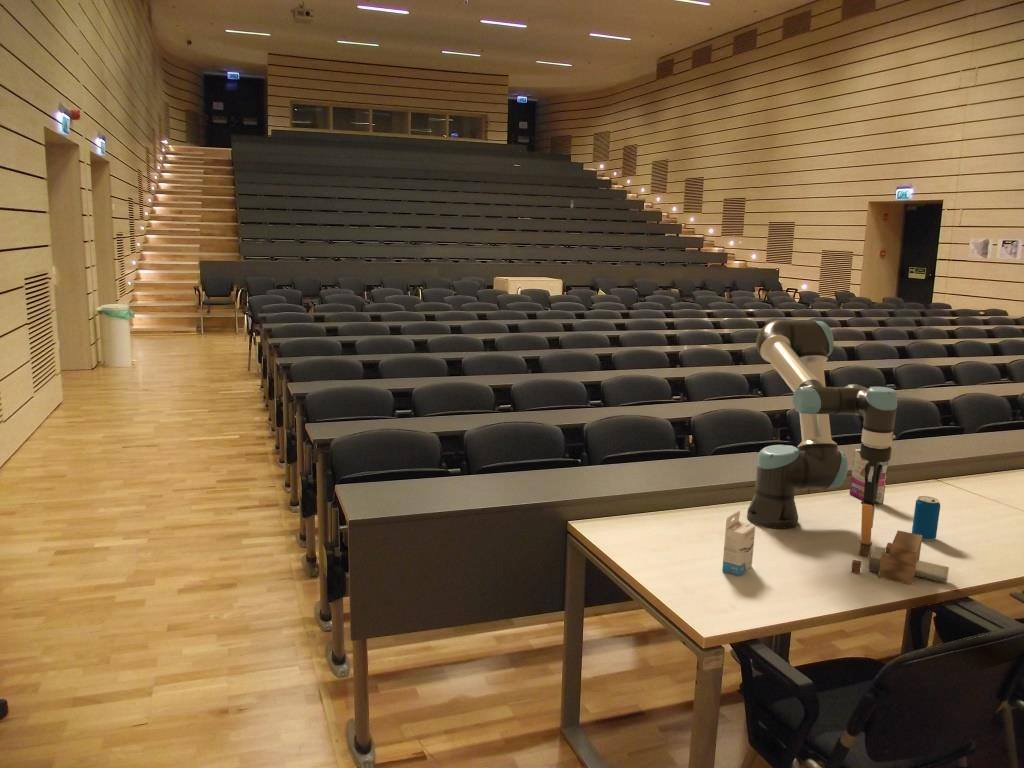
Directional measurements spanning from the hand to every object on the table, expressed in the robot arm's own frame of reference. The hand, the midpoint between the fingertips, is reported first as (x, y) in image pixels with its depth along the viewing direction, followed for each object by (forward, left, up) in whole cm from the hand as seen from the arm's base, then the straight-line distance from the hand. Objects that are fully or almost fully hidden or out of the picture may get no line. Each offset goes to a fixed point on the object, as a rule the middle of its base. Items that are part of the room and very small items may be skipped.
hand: (866, 526), depth 214 cm
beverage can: (+13, +27, -9) cm, 31 cm away
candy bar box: (-7, +55, -9) cm, 56 cm away
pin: (+13, -5, -9) cm, 16 cm away
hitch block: (+6, -5, -9) cm, 12 cm away
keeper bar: (0, -2, +1) cm, 2 cm away
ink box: (-26, -29, -9) cm, 41 cm away
